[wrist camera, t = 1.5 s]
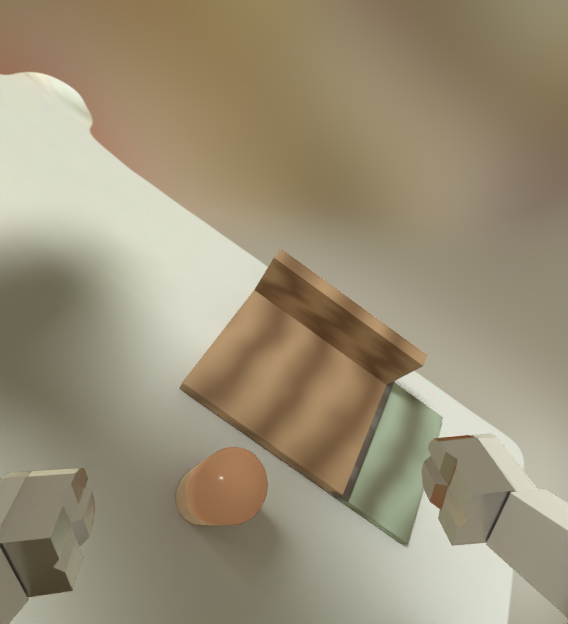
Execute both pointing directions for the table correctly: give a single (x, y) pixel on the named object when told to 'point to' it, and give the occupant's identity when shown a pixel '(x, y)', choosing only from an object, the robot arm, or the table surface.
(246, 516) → the peach cylinder
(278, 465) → the table surface
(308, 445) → the brown wooden l-shaped board
